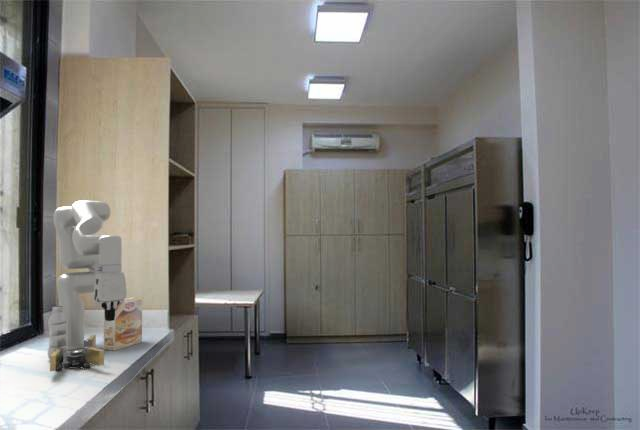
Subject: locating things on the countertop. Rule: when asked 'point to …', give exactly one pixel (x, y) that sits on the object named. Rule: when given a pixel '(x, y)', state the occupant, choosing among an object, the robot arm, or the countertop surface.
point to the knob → (90, 341)
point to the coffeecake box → (124, 325)
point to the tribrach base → (67, 365)
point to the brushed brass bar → (56, 360)
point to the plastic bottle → (57, 330)
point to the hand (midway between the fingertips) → (109, 320)
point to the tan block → (92, 356)
